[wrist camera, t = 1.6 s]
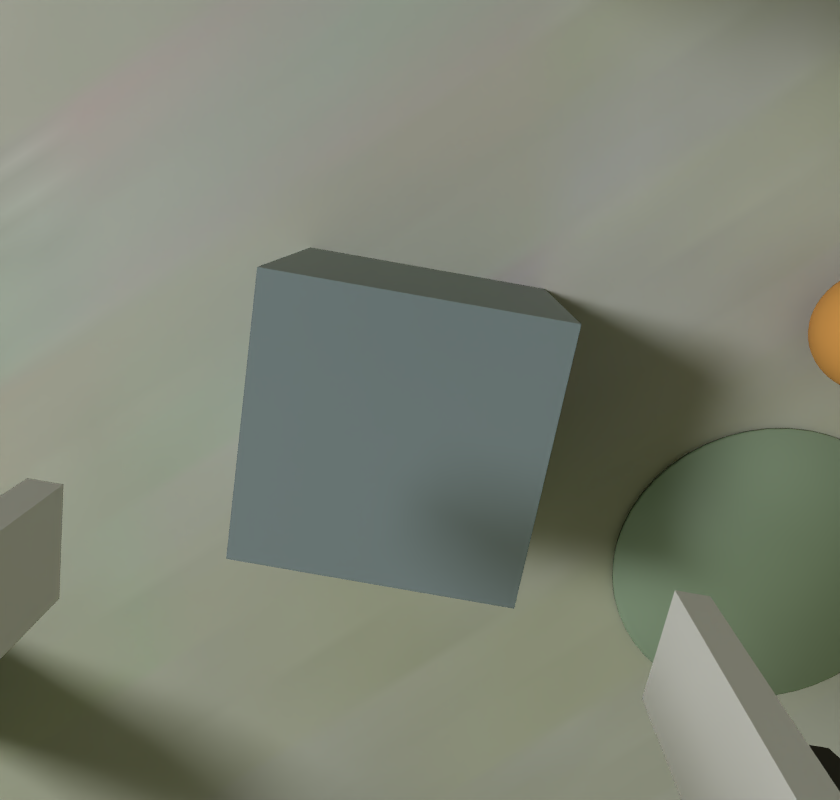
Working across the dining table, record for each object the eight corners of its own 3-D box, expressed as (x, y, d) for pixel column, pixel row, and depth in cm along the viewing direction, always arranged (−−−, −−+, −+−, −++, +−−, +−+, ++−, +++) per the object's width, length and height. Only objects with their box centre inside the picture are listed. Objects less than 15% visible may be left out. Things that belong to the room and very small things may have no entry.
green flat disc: (655, 403, 32) (656, 404, 32) (962, 457, 32) (965, 458, 32) (582, 668, 36) (583, 670, 36) (856, 715, 36) (858, 718, 36)
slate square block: (310, 247, 31) (257, 266, 22) (544, 289, 31) (581, 324, 22) (282, 466, 33) (226, 558, 25) (497, 504, 33) (513, 608, 25)
